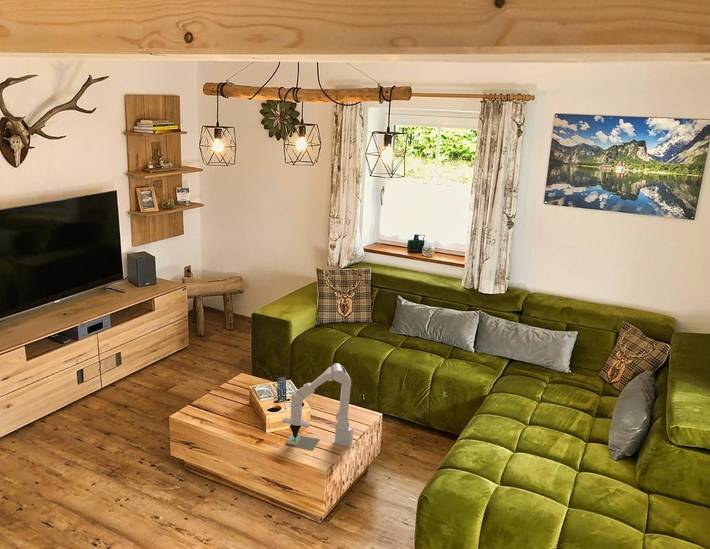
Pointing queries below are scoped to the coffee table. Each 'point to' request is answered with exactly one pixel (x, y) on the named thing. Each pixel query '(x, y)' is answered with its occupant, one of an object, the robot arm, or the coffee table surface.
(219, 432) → the coffee table surface
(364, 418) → the coffee table surface
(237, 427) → the coffee table surface
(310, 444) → the mat
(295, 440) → the tile
